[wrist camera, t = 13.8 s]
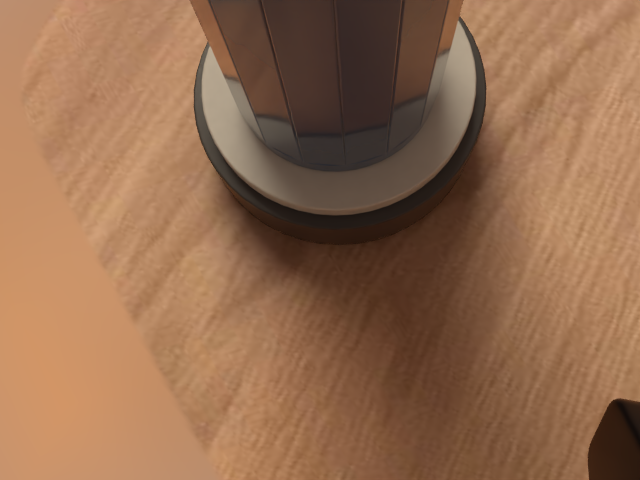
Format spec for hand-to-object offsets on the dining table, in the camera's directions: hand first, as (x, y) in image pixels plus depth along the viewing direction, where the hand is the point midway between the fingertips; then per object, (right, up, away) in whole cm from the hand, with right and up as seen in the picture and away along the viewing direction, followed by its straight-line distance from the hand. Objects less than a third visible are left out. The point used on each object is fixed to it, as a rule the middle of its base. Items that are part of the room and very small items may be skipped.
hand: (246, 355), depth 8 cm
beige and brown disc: (+2, +6, +13) cm, 14 cm away
